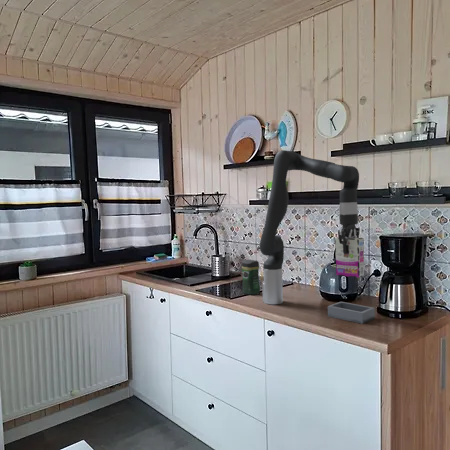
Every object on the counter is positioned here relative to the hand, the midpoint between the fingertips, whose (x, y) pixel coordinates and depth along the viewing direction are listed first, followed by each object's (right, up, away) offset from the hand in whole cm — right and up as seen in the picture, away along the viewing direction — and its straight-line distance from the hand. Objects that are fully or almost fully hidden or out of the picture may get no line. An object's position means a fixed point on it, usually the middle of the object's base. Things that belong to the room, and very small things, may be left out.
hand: (349, 252), depth 178 cm
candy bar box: (0, -10, +1) cm, 10 cm away
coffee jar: (-39, -26, +51) cm, 69 cm away
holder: (+1, -28, +2) cm, 28 cm away
